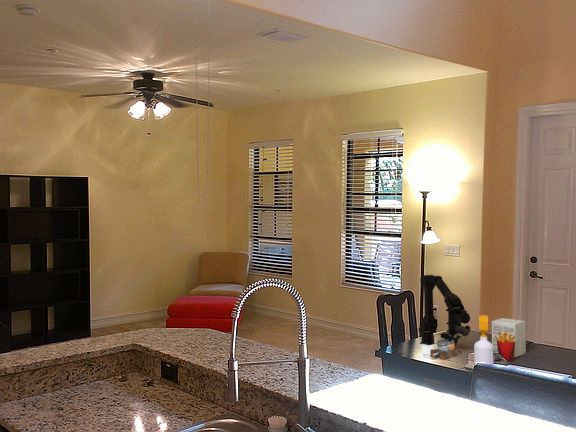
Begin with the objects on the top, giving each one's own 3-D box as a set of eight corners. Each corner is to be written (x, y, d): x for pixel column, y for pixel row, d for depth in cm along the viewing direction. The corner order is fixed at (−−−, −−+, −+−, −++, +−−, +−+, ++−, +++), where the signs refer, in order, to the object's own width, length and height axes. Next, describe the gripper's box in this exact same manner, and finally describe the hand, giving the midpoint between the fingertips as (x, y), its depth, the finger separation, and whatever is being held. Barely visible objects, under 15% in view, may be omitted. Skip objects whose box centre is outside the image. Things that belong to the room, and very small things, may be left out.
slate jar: (437, 356, 306) (434, 343, 305) (443, 350, 310) (440, 338, 308) (446, 358, 302) (443, 345, 300) (452, 352, 305) (449, 340, 304)
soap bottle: (493, 364, 289) (493, 314, 289) (493, 368, 280) (493, 318, 280) (474, 362, 292) (474, 314, 292) (474, 367, 283) (473, 317, 283)
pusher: (435, 355, 305) (435, 349, 305) (446, 357, 301) (446, 351, 301) (428, 358, 300) (428, 351, 300) (439, 360, 296) (439, 353, 296)
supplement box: (502, 349, 320) (502, 317, 320) (526, 353, 311) (526, 320, 311) (491, 353, 311) (491, 320, 311) (515, 357, 302) (515, 324, 301)
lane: (446, 351, 316) (446, 344, 316) (461, 354, 310) (461, 346, 310) (429, 357, 304) (429, 349, 304) (445, 360, 298) (445, 352, 298)
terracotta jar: (443, 354, 310) (440, 342, 308) (447, 349, 314) (445, 337, 312) (453, 356, 306) (451, 343, 304) (457, 350, 310) (455, 338, 308)
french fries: (505, 358, 300) (505, 329, 300) (518, 361, 293) (518, 332, 293) (493, 360, 296) (493, 331, 296) (506, 364, 289) (506, 334, 289)
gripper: (459, 325, 300) (459, 355, 301) (475, 319, 314) (476, 348, 314) (439, 322, 308) (440, 351, 308) (456, 317, 322) (457, 345, 322)
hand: (454, 349), depth 313 cm, fingers closed
